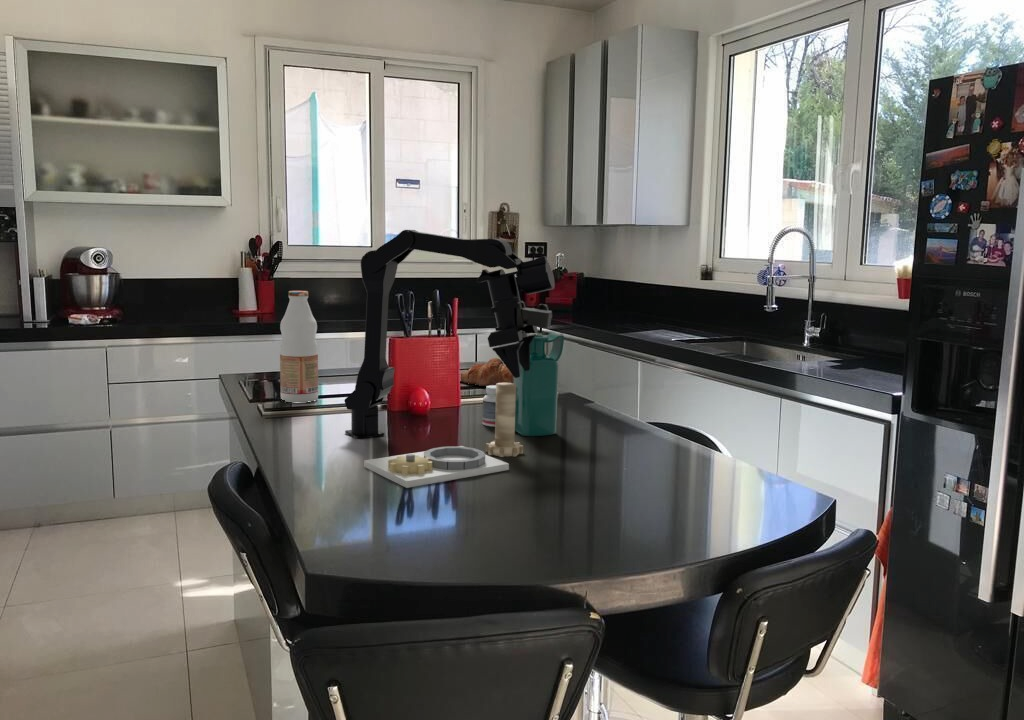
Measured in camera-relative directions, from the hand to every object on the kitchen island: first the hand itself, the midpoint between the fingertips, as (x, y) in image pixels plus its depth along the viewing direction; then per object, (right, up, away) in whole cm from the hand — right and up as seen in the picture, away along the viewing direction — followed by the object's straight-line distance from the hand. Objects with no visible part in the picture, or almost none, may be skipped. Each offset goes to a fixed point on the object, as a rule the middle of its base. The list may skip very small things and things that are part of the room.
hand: (522, 373), depth 180 cm
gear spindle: (-4, -16, -2) cm, 16 cm away
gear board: (-16, -17, -15) cm, 28 cm away
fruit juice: (-57, -8, +45) cm, 73 cm away
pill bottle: (-6, -12, +23) cm, 27 cm away
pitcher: (+3, -13, +17) cm, 22 cm away
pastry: (-8, -5, +75) cm, 76 cm away
